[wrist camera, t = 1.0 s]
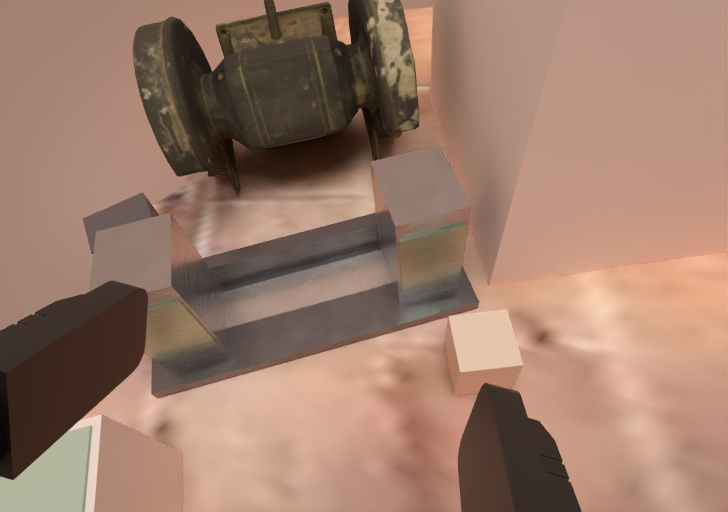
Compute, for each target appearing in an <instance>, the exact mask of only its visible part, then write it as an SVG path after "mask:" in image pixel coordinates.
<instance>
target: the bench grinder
mask: <svg viewBox="0 0 728 512" xmlns="http://www.w3.org/2000/svg"><path fill="white" fill-rule="evenodd" d="M264 3H265V8H266V13H267V14H266V15H262V16H257V17H252V18H247V19H242V20H237V21H232V22H228V23H223V24H218V25H216V32H217V35H218V38H219V42H220V45H221V48H222V51H223V55H224V59H223V60H222V62H221V63H220V64H219V65H218V66H217V68H216V69H215V70H214V71H213V72H212V70H211V68H210V65H209V63H208V61H207V59H206V57H205V55H204V52H203V51H202V49H201V47H200V45H199V43H198V42H197V40H196V38H195V37H194V35H193V33H192V32H191V31H190V30H189V28H188V27H187V26H186V25H185V24H184V23H183V22H182V21H181V20H180V19H177V18H174V17H170V18H168V19H167V20H165V21H163V22H158V23H153V24H149V25H144V26H141V27H139V28H138V29H137V31H136V33H135V37H134V45H133V60H134V67H135V75H136V79H137V84H138V88H139V92H140V96H141V99H142V103H143V106H144V109H145V112H146V115H147V117H148V120H149V123H150V125H151V127H152V130H153V132H154V135H155V137H156V140H157V142H158V144H159V146H160V148H161V150H162V152H163V153H164V155H165V157H166V159H167V161H168V163H169V164H170V166H171V167H172V169H173V170H174V172H175V173H176V175H177V176H184V175H189V174H193V173H197V172H203V171H208V176H209V177H211V176H216V175H221V174H226V173H229V175H230V178H231V181H232V184H233V186H234V189H235V190H236V192H237V194H238V192H239V190H240V185H239V182H238V178H237V173H236V165H235V156H234V149H233V142H232V139H234V140H236V141H238V142H239V143H241V144H243V145H244V146H246V147H247V148H249V149H258V148H271V147H276V146H280V145H285V144H290V143H295V142H299V141H304V140H309V139H314V138H318V137H322V136H325V135H329V134H332V133H336V132H339V131H343V130H346V128H347V126H348V124H349V122H350V121H351V119H352V118H353V117H354V115H355V114H356V113H357V112H358V109H360V108H362V111H363V115H364V119H365V123H366V127H367V131H368V134H369V138H370V141H371V147H372V155H373V159H374V160H375V161H376V160H380V155H379V146H378V139H382V138H386V137H395V138H397V137H400V136H401V134H402V132H404V131H408V130H413V129H416V128H417V127H419V106H418V97H417V85H416V72H415V62H414V58H413V53H412V49H411V45H410V40H409V34H408V28H407V24H406V19H405V15H404V11H403V7H402V4H401V1H400V0H349V2H348V10H349V27H350V36H351V44H349V45H345V44H344V43H343V42H340V41H338V40H337V36H336V31H335V25H334V19H333V15H332V9H331V5H330V3H329V2H324V3H320V4H315V5H310V6H306V7H301V8H296V9H291V10H286V11H281V12H276V9H275V5H274V1H273V0H264Z"/></svg>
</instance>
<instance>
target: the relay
mask: <svg viewBox="0 0 728 512" xmlns="http://www.w3.org/2000/svg"><path fill="white" fill-rule="evenodd" d="M155 216H159V214H158V213H157V211H156V210H155V208H154V207H153V206H152V204H151V203H150V202H149V200H148V199H147V198H146V196H145V195H144V194H143V193H140V194H138V195H136V196H133V197H131V198H129V199H127V200H124V201H122V202H120V203H117V204H115V205H113V206H110V207H108V208H106V209H104V210H101V211H99V212H97V213H94V214H92V215H90V216H88V217H85V218H83V221H84V225H85V229H86V233H87V237H88V241H89V245H90V249H91V253H92V254H93V253H94V244H95V236H96V231H100V230H104V229H108V228H112V227H116V226H120V225H124V224H128V223H132V222H136V221H140V220H144V219H148V218H151V217H155Z"/></svg>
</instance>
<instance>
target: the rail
mask: <svg viewBox="0 0 728 512" xmlns="http://www.w3.org/2000/svg"><path fill="white" fill-rule="evenodd" d="M370 164H371V174H372V183H373V192H374V201H375V210H376V213H373V214H369V215H366V216H362V217H358V218H354V219H350V220H347V221H343V222H339V223H335V224H331V225H328V226H324V227H320V228H316V229H312V230H309V231H305V232H301V233H297V234H293V235H289V236H286V237H282V238H278V239H274V240H270V241H267V242H263V243H259V244H255V245H251V246H248V247H244V248H240V249H236V250H232V251H228V252H225V253H221V254H217V255H213V256H209V257H206V258H202V257H201V256H200V254H199V253H198V251H197V250H196V249H195V247H194V246H193V244H192V243H191V241H190V240H189V239H188V237H187V236H186V234H185V233H184V231H183V230H182V229H181V227H180V226H179V224H178V223H177V221H176V220H175V219H174V217H173V216H172V214H171V213H167V214H163V215H159V216H155V217H151V218H148V219H144V220H140V221H136V222H132V223H128V224H124V225H120V226H116V227H112V228H108V229H104V230H100V231H96V236H95V244H94V253H93V262H92V271H91V280H90V289H89V292H90V291H92V290H94V289H95V288H97V287H99V286H101V285H103V284H104V283H106V282H108V281H117V282H121V283H124V284H128V285H132V286H136V287H139V288H143V289H145V290H146V292H147V294H148V310H147V327H146V343H145V350H144V353H146V354H147V355H148V356H150V357H151V358H152V395H154V396H155V397H157V398H160V397H164V396H167V395H171V394H174V393H178V392H181V391H185V390H189V389H192V388H196V387H199V386H203V385H206V384H210V383H213V382H217V381H220V380H224V379H228V378H231V377H235V376H238V375H242V374H245V373H249V372H252V371H256V370H259V369H263V368H266V367H270V366H274V365H277V364H281V363H284V362H288V361H291V360H295V359H298V358H302V357H305V356H309V355H313V354H316V353H320V352H323V351H327V350H330V349H334V348H337V347H341V346H344V345H348V344H352V343H355V342H359V341H362V340H366V339H369V338H373V337H376V336H380V335H383V334H387V333H391V332H394V331H398V330H401V329H405V328H408V327H412V326H415V325H419V324H422V323H426V322H429V321H433V320H437V319H440V318H444V317H447V316H451V315H454V314H458V313H461V312H465V311H468V310H472V309H476V308H478V304H479V301H478V299H477V297H476V294H475V292H474V290H473V288H472V286H471V284H470V282H469V280H468V277H467V275H466V273H465V271H464V269H463V267H462V263H463V257H464V250H465V244H466V238H467V232H468V226H469V219H470V213H471V207H472V206H471V204H470V202H469V200H468V199H467V197H466V195H465V193H464V191H463V189H462V187H461V185H460V184H459V182H458V180H457V178H456V176H455V174H454V172H453V170H452V169H451V167H450V165H449V163H448V161H447V159H446V157H445V156H444V154H443V152H442V150H441V148H440V146H439V145H435V146H431V147H427V148H423V149H419V150H415V151H411V152H407V153H403V154H399V155H395V156H391V157H388V158H384V159H380V160H376V161H372V162H370Z"/></svg>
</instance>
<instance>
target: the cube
mask: <svg viewBox="0 0 728 512" xmlns="http://www.w3.org/2000/svg"><path fill="white" fill-rule="evenodd" d="M430 102H431V105H432V109H433V112H434V115H435V118H436V121H437V124H438V128H439V131H440V134H441V137H442V140H443V143H444V146H445V150H446V153H447V156H448V159H449V162H450V165H451V168H452V170H453V172H454V174H455V176H456V178H457V180H458V182H459V184H460V185H461V187H462V189H463V191H464V193H465V195H466V197H467V199H468V200H469V202H470V204H471V206H472V207H471V213H470V219H469V225H470V228H471V231H472V235H473V238H474V241H475V244H476V247H477V250H478V253H479V257H480V260H481V263H482V266H483V269H484V272H485V275H486V279H487V282H488V285H489V286H493V285H500V284H507V283H514V282H521V281H528V280H535V279H542V278H548V277H555V276H562V275H569V274H576V273H583V272H590V271H597V270H603V269H610V268H617V267H624V266H631V265H638V264H645V263H652V262H658V261H665V260H672V259H679V258H686V257H693V256H700V255H707V254H713V253H720V252H727V251H728V0H433V26H432V55H431V84H430Z"/></svg>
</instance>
